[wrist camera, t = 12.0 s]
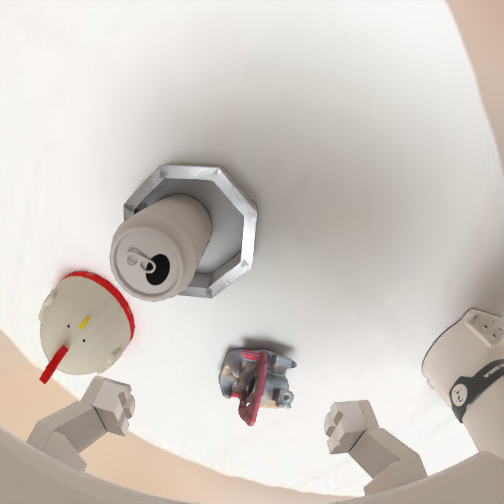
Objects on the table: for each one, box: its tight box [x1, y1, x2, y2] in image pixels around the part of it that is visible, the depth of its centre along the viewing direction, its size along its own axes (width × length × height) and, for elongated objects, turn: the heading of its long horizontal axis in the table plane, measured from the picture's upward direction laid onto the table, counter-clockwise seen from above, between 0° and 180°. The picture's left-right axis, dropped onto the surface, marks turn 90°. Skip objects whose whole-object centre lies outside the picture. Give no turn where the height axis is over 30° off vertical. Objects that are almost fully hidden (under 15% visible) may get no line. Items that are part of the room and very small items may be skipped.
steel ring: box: [124, 164, 257, 298], centre depth 29 cm, size 14×14×4 cm
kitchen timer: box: [39, 271, 135, 384], centre depth 28 cm, size 14×14×15 cm
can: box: [110, 194, 212, 302], centre depth 25 cm, size 8×8×12 cm
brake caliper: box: [219, 348, 297, 426], centre depth 35 cm, size 11×11×12 cm
